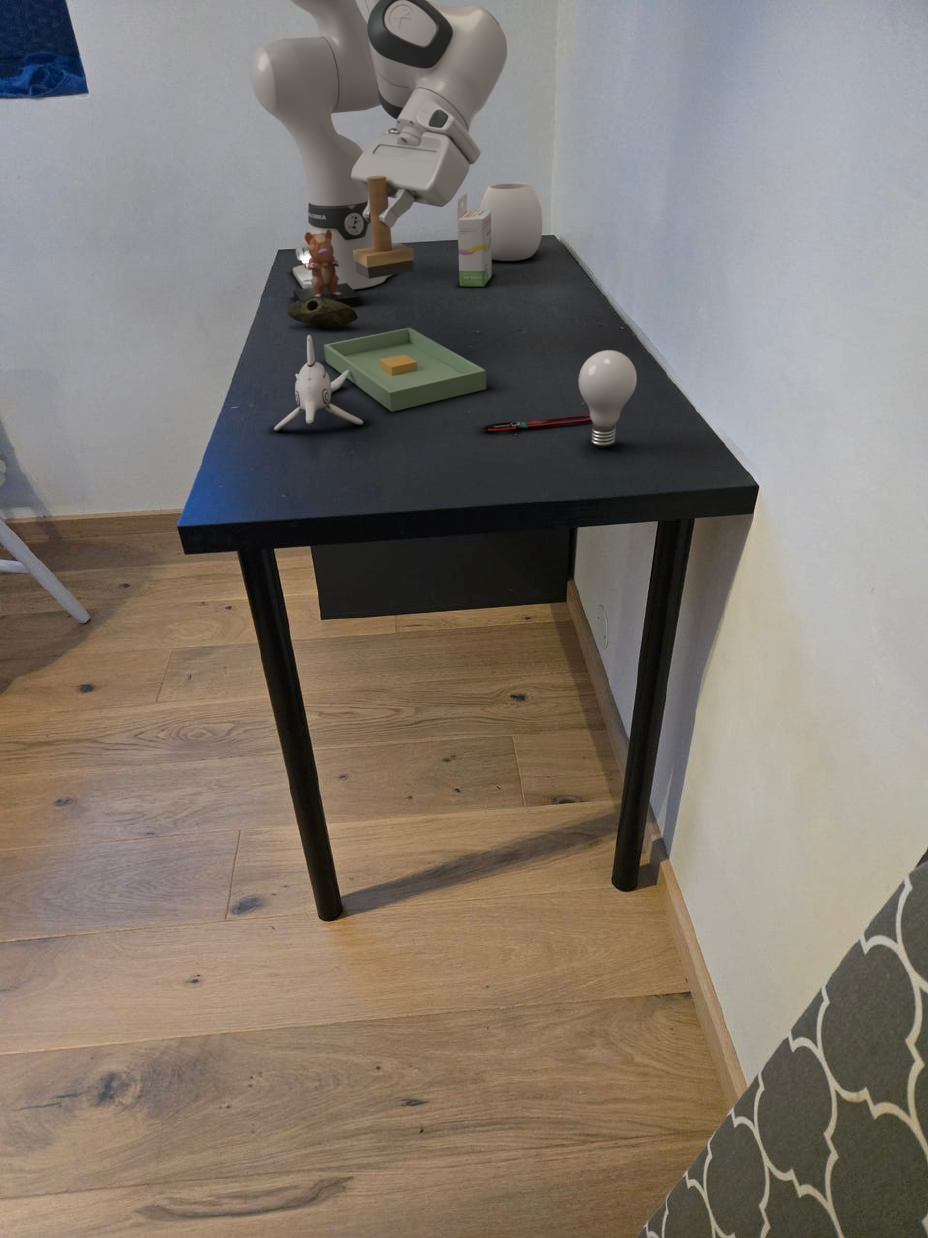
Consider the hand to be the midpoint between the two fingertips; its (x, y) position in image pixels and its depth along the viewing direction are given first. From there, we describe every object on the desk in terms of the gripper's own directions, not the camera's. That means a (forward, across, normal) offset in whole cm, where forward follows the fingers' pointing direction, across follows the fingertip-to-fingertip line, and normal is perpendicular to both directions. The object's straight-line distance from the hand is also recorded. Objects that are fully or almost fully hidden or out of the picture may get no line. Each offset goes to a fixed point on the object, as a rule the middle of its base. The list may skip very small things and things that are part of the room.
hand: (376, 221), depth 112 cm
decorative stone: (+13, -20, +13) cm, 27 cm away
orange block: (+15, +7, +10) cm, 19 cm away
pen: (+14, +35, +12) cm, 39 cm away
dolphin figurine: (+27, +14, -1) cm, 31 cm away
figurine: (+7, -33, +19) cm, 39 cm away
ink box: (-13, -24, +39) cm, 47 cm away
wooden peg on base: (+4, 0, +5) cm, 7 cm away
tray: (+15, +8, +11) cm, 20 cm away
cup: (-24, -34, +51) cm, 66 cm away
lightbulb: (+13, +44, +13) cm, 48 cm away
